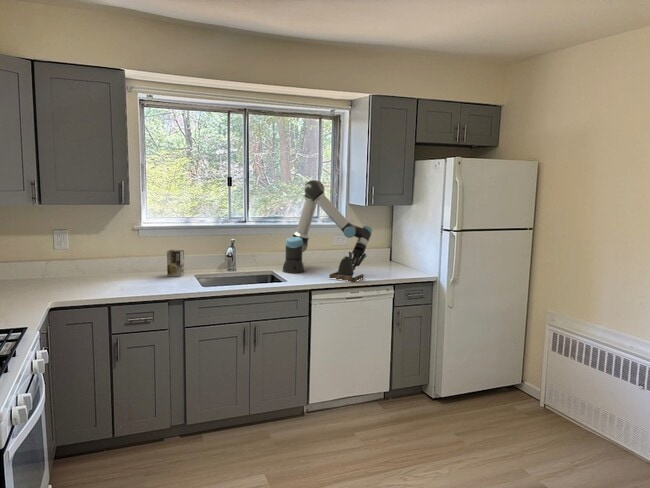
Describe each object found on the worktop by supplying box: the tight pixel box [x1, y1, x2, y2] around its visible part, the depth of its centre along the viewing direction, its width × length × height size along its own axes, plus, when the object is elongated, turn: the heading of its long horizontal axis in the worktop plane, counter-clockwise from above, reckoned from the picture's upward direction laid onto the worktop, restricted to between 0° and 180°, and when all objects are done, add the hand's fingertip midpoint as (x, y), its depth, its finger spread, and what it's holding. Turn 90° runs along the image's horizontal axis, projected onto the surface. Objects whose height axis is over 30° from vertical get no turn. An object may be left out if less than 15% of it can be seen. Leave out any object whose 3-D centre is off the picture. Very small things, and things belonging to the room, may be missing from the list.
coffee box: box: [166, 249, 185, 277], centre depth 307 cm, size 9×6×16 cm
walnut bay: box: [328, 271, 364, 283], centre depth 316 cm, size 18×14×3 cm
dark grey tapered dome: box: [337, 255, 355, 277], centre depth 314 cm, size 10×10×15 cm
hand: (349, 273), depth 321 cm, fingers closed
